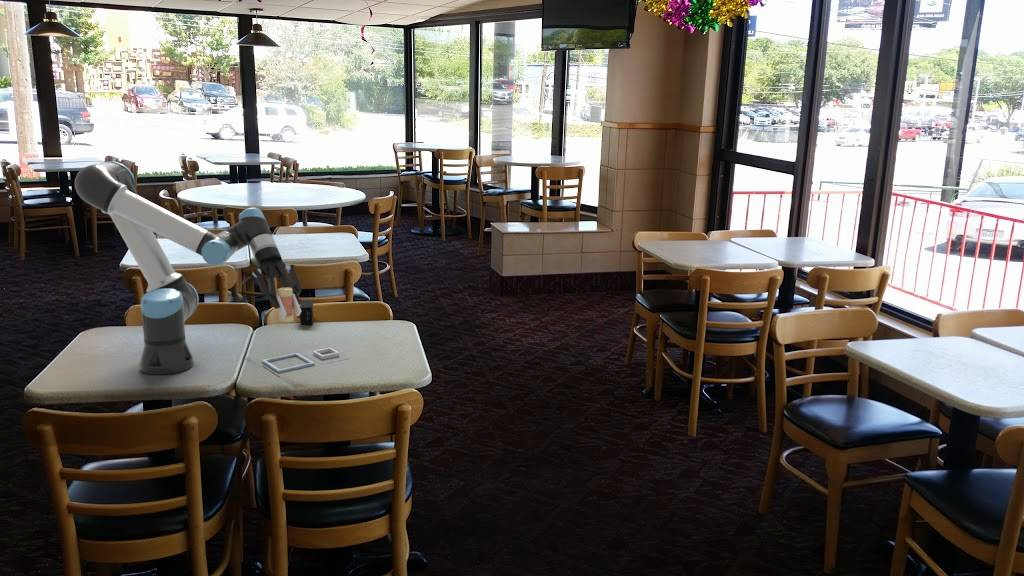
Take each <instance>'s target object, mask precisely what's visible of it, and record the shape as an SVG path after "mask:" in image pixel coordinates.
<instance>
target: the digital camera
mask: <svg viewBox="0 0 1024 576" xmlns="http://www.w3.org/2000/svg"><path fill="white" fill-rule="evenodd" d="M313 300H314V299H313ZM313 300H312V299H308V300H307V299H306V300H305V299H304V300H300V304H299V306H300V309H301V311H302V312H301V313H300V315H299V316H296V318H297V319H300V320H299V322H300V326H301V325H306V326H313V324H314V301H313Z"/></svg>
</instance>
